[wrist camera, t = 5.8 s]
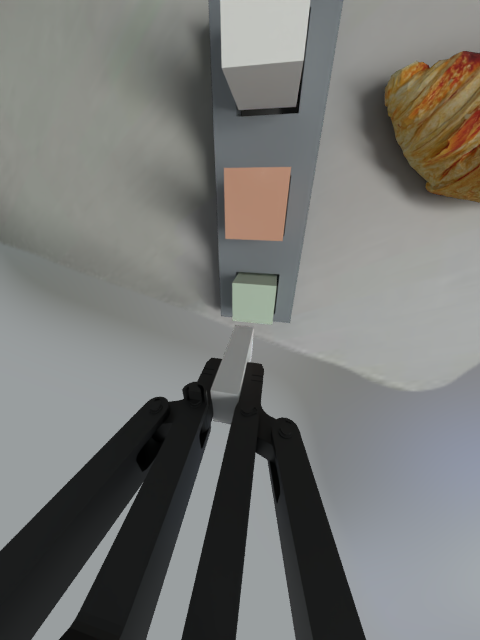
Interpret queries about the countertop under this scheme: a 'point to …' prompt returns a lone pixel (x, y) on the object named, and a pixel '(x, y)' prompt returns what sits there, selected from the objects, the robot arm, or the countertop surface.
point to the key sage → (254, 297)
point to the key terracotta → (256, 202)
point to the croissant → (440, 122)
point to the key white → (263, 50)
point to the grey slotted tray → (272, 156)
